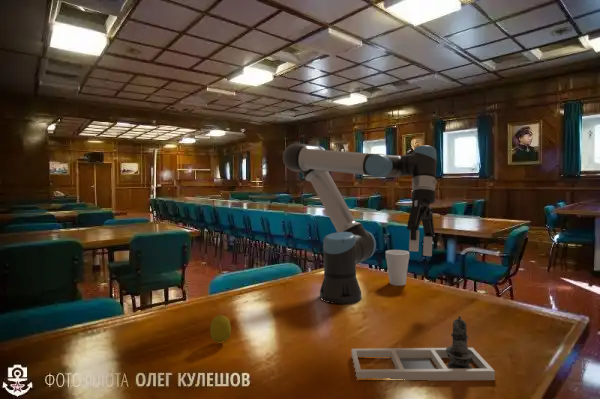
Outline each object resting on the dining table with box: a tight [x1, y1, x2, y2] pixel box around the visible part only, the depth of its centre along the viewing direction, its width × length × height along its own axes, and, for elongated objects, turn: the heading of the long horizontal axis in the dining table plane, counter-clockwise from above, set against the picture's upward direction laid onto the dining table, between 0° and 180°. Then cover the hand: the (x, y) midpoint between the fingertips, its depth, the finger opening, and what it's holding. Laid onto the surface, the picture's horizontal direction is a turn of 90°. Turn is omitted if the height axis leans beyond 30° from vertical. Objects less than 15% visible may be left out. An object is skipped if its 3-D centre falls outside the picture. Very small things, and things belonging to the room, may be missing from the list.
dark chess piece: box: [446, 315, 474, 369], centre depth 80 cm, size 6×6×12 cm
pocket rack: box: [350, 347, 496, 381], centre depth 80 cm, size 29×10×2 cm, turn 88°
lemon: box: [209, 314, 232, 343], centre depth 95 cm, size 6×6×8 cm
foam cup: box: [385, 249, 410, 287], centre depth 144 cm, size 10×9×13 cm
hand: (420, 253), depth 115 cm, fingers open, 13 cm apart
